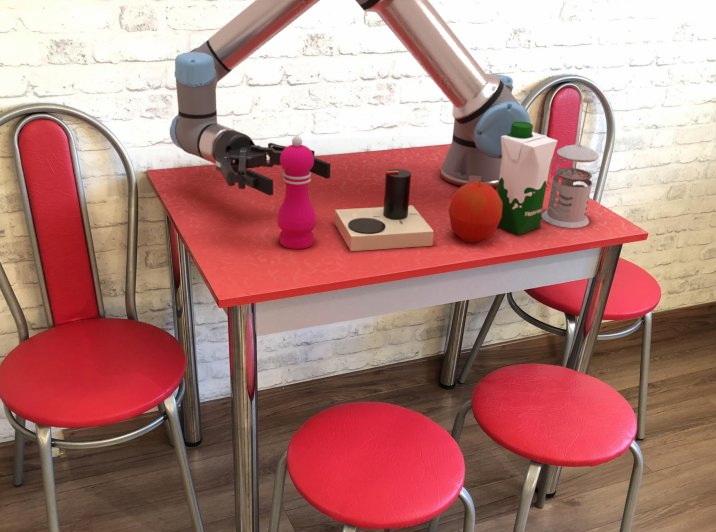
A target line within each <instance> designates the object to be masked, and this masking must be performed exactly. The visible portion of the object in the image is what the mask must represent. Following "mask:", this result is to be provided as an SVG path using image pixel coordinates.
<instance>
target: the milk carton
mask: <svg viewBox="0 0 716 532" xmlns="http://www.w3.org/2000/svg"><path fill="white" fill-rule="evenodd" d="M533 129H534V125H533V124H532V123H531V124H530V123H527V122H513V123H512V125H511V133H509V134H506V135H504V136H501V147H502V161H501V168H500V175H499V182H498V187H497V189H496V191H497V193H498V195H499V196H500V198H501V200H502V203H503V205H502V217H501V219H500V222H499V224H498V227H497V228H500V229H502V230H504V231H507V232H508V233H511V234H514V235H516V236H521V235H523V234H526V233H528V232H531V231H534V230H537V229H539V228H541V223H542V213H543V206H544V202H545V195H546V189H547V184H548V180H549V179H548V177H549V171H550V165H551V162H552V160H553V156H554V153H555V150H556V148H557V144H558V139H554V138H551V137H548V135H545V134H540V133H538V132H534V131H533Z"/></svg>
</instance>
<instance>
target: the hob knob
mask: <svg viewBox="0 0 716 532" xmlns="http://www.w3.org/2000/svg"><path fill="white" fill-rule="evenodd" d="M411 182H412V172H411V171H409V170H408V169H404V168H390V169H387V170H386V171H385V181H384V194H383V207H384V208H383V215H384V216H385V217H386V218H389V219H393V220H401V219H405V218H407V216H408V207H409V206H410V205H409V204H410V192H411Z"/></svg>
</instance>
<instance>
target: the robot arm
mask: <svg viewBox="0 0 716 532" xmlns="http://www.w3.org/2000/svg"><path fill="white" fill-rule="evenodd" d="M320 1H321V0H254V1H253V2H252V3H250V4H249V5H248V6H247V7H245V8H244V9H243V10H242V11H241V12H240V13H238V14H237V15H236V16H235V17H233V18H232V19H231V20H229V22H227V23H226V24H225V25H223V27H221V28H220V29H218V31H216V32H215V33H214V34H212V36H210V37H209V38H208V39H207V40H206V41H205V42H203V43H202V44H201V45H200V46H198V47H195V48H193V49H192V50H191V51H189V52H183V53H180V54H177V55H176V56H175V59H174V78H175V87H176V99H177V108H178V109H177V112H178V113H177V115H175V116H174V118H173V119H172V120H171V124H170V126H169V135H170V136H169V137H170V139H171V142H172V143H173V144H174V145H175V146H176V147H177V148H178V149H181V150H182V151H183V152H185V153H187V154H189V155H193V156H195V157H198V158H201V159H203V160H204V161H207V162H210V163H212V164H214V165H215V170H217V171H219V172H220V173H221V175H222V177H223V179H224V180H225V183H227V186H229V187H234V186H235V184H237V185H238V189H239V190H245V189H246V186H248V187H249V188H252V189H255V190H256V191H259V192H261V193H263V194H265V195H268V196H273V195H274V179H272V178H270V177H268V176H265V175H263V174H261V173H259V172H256V171H254V170H251V169H256V168H257V169H258V168H260V167H263V168H273V167H274V166H281V164H280V156H281V153H282V151H283V150H284V149H285V148H286V147H287V146H288V145H282V144H281V145H280V144H277V143H273V142H268V143H267V146H261V145H256V144H255V142H254V140H253V138H251V136H249V135H248V134H245V133H243V132H240V131H238V130H236V129H233V128H231V127H228V126H225V125H222V124H221V123H218V113H217V112H218V109H217V85H218V83H219V82H220V81H221V80H222V79H224V78H225V77H226V76H227V75H229V73H231V72H232V71H233V70H234V69H236V67H238V66H239V65H240V64H241V63H243V62H244V61H245V60H246V59H248V58H249V57H251V56H252V55H253V54H254V53H256V52H257V51H258V50H259V49H260V48H261V47H263V46H264V45H266V44H267V43H268V42H270V40H272V39H274V37H276V36H277V35H278V34H279V33H281V32H282V31H283V30H284V29H286V28H287V27H288V26H290V25H291V24H292V23H294V22H295V21H296V20H297V19H299V18H300V17H301V16H303V14H305V13H306V12H307V11H309V9H311V8H312V7H313V6H314V5H316V4H317V3H319V2H320ZM355 2H356V3H357V5H358V6H359V7H360V8H361V9H362V10H363V11H364V12H368V13H375V14H377V15H378V17H379V18H380V19H381V20H382V21H383V22H384V23H385V25H386V26H387V27H388V28H389V30H390V31H391V32H392V33H393V34H394V36H395V37H396V39H398V40H399V42H400V43H401V44H402V46H404V48H405V49H406V50H407V51H408V52H409V53H410V54H411V56H412V57H413V58H414V60H415V61H416V62H417V63H418V64H419V66H420V67H421V68H422V70H424V72H425V73H426V74H427V75H428V76H429V78H430V79H431V80H432V81H433V83H434V84H436V86H437V87H438V89H439V90H440V91H441V92H442V93H443V95H444V96H445V97H446V98H447V100H449V102H450V103H451V104H452V114H451V115H452V117H453V120H454V121H453V129H452V139H451V140H452V141H451V143H450V146H449V148H448V151H447V153H446V154H445V157H444V159H443V162H442V164H441V167H440V177H441V179H443V180H444V181H446V182H447V183H449V184H451V185H454V186H458V187H462V186H464V185H466V184H467V183H470V182H479V181H480V182H482V183H486V184H488V185H490V186H491V187H492V188H494V189H495V188H498V182H499V175H500V168H501V161H502V147H501V136H504V135H506V134H509V133H511V125H512V123H513V122H527V123H530V124H532V120H531V117H530V114H529V112H528V110H527V109H526V107H525V106H524V105H523V104H521V103H520V102H519V101H518V99H517V98H516V97H515V96H514V95H513V94H512V92H513V89H514V85H513V82H514V81H513V78H512V77H511V76H509V75H505V74H497V73H495V74H494V73H486V72H485V71H484V70H483V68H482V67H481V66H480V65H479V63H478V62H477V60H476V59H475V58H474V56H473V55H472V54H471V53H470V52H469V50H468V49H467V48H466V46H465V45H464V44H463V42H462V41H461V40H460V39H459V38H458V37H457V35H456V34H455V33H454V31H453V30H452V29H451V27H450V26H449V25H448V23H446V21H445V20H444V19H443V17H442V16H441V15H440V14H439V12H438V11H437V10H436V8H435V7H434V6H433V4H431V2H430V1H429V0H355ZM310 150H311V152H312V153H313V156H314V164H313V167H312V168H311V169H310V171H309V172H310V173H311V174H314V175H315V176H319V177H321V178H324V179H327V180H328V179H330V178H331V163H330V162H327V161H324V160H322V159H319V158H317V157H315V150H313V149H310ZM268 159H269V162H268Z"/></svg>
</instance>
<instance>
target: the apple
mask: <svg viewBox="0 0 716 532" xmlns="http://www.w3.org/2000/svg"><path fill="white" fill-rule="evenodd" d="M502 205H503V203H502V200H501V198H500V196H499V195H498V193H497V189H495V188H492V187H491V186H490V185H488V184H486V183H482V182H480V181H479V182H470V183H467V184H466V185H464V186H459V188H458V189H457V190H456V192H455V193H454V194H453V195H452V196H451V199H450V202H449V206H448V215H449V216H448V217H449V220H450V221H449V222H450V227H451V230H452V232H453V233H455V234H456V236H458V237H459V239H461V241H464V242H467V243H477V242H481V241H482V240H485V239H487V238H488V237H491V236H493V235H494V234H495V233H496V231H497V229H498V228H499V227H498V224H499V222H500V219H501V217H502Z"/></svg>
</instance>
